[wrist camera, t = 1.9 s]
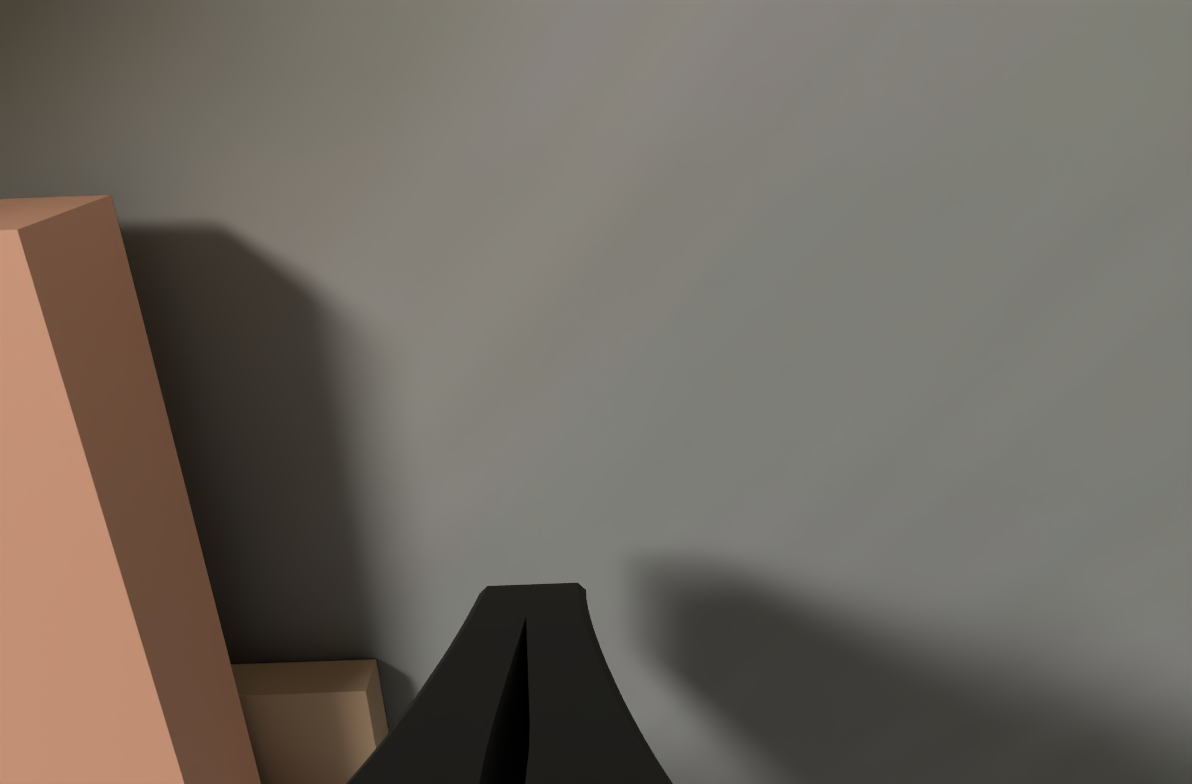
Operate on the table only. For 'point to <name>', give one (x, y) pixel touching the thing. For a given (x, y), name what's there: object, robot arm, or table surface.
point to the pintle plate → (311, 718)
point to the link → (98, 529)
